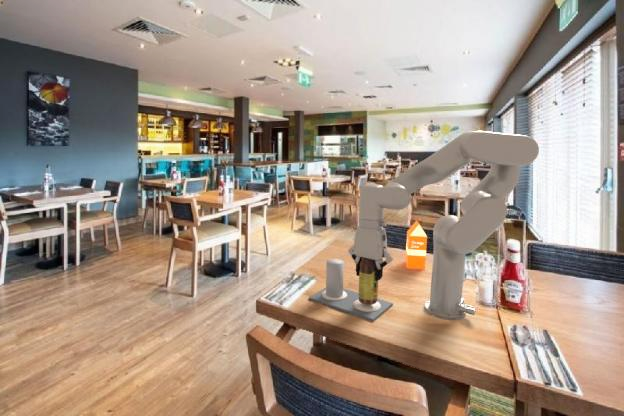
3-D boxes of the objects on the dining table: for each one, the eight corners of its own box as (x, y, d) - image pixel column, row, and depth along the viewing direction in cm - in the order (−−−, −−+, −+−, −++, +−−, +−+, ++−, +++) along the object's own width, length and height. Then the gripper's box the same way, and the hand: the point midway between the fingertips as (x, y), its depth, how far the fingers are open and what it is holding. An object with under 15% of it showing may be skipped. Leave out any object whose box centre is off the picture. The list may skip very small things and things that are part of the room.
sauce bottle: (377, 306, 112) (379, 247, 109) (357, 304, 114) (359, 245, 110) (377, 297, 119) (380, 241, 115) (359, 296, 120) (360, 240, 116)
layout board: (392, 305, 119) (394, 268, 116) (373, 321, 108) (375, 281, 105) (331, 286, 133) (332, 253, 131) (308, 299, 122) (309, 263, 120)
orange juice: (406, 268, 154) (409, 223, 150) (404, 261, 163) (407, 219, 159) (425, 269, 153) (428, 224, 149) (422, 262, 161) (425, 220, 158)
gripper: (401, 225, 109) (398, 279, 112) (353, 217, 119) (351, 268, 123) (391, 229, 103) (388, 287, 107) (341, 221, 114) (340, 274, 117)
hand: (368, 276), depth 115 cm, fingers closed on sauce bottle, 6 cm apart
